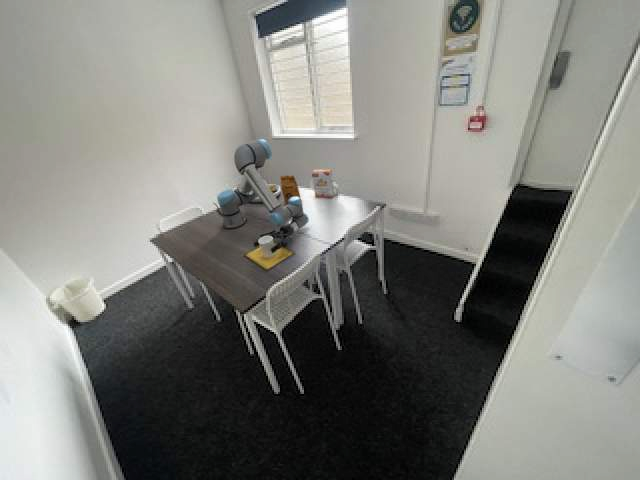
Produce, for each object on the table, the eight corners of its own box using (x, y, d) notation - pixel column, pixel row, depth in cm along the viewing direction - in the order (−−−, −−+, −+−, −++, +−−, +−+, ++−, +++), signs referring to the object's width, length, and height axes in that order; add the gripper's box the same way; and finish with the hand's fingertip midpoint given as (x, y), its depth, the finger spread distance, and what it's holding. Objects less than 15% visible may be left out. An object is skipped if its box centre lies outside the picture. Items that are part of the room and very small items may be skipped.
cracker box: (315, 197, 205) (311, 171, 194) (318, 194, 210) (314, 169, 199) (331, 198, 200) (328, 171, 189) (334, 195, 205) (331, 169, 194)
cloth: (245, 255, 148) (245, 255, 148) (270, 241, 158) (270, 240, 158) (266, 270, 134) (266, 269, 134) (293, 253, 144) (293, 252, 143)
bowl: (288, 193, 222) (286, 184, 218) (260, 207, 205) (257, 197, 201) (267, 187, 241) (265, 179, 236) (240, 199, 224) (237, 191, 220)
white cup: (270, 260, 140) (266, 244, 135) (260, 257, 144) (255, 241, 139) (279, 252, 146) (275, 237, 141) (269, 249, 150) (265, 234, 145)
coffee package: (297, 205, 197) (292, 177, 185) (283, 205, 201) (277, 178, 190) (303, 200, 204) (298, 173, 193) (288, 199, 209) (283, 173, 197)
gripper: (306, 239, 148) (281, 259, 135) (275, 230, 162) (249, 248, 148) (304, 227, 144) (277, 247, 131) (272, 219, 158) (245, 237, 145)
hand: (262, 248), depth 140 cm, fingers open, 13 cm apart
